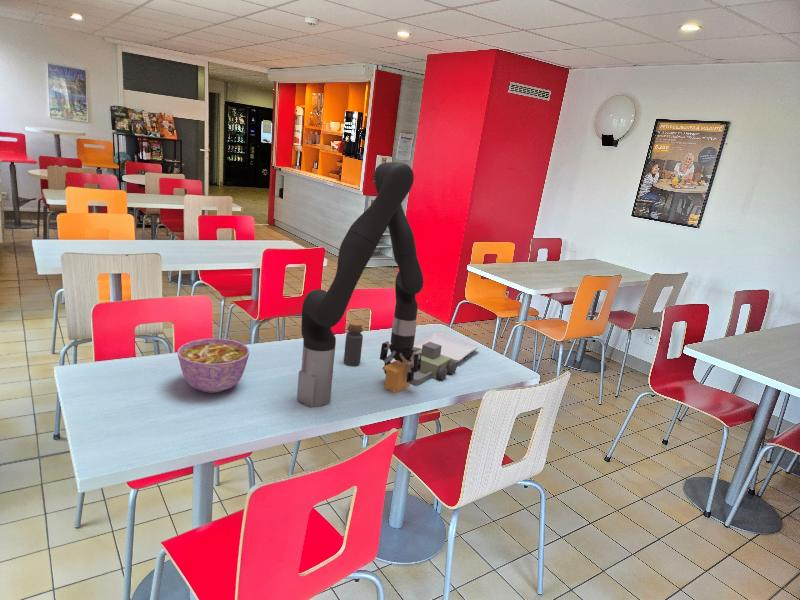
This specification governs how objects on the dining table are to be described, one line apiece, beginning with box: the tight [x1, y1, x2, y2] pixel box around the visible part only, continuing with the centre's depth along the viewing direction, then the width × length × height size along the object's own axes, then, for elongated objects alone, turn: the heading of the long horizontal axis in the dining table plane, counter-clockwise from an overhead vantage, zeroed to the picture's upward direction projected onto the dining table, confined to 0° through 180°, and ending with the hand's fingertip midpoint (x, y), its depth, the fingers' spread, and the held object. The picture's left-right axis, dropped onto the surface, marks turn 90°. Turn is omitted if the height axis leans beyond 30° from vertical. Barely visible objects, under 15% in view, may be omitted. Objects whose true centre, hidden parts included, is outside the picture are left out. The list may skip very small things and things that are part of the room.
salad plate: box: [413, 331, 480, 364], centre depth 209 cm, size 21×21×3 cm
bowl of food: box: [177, 338, 251, 394], centre depth 157 cm, size 20×20×12 cm
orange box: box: [381, 360, 410, 393], centre depth 172 cm, size 10×5×8 cm, turn 146°
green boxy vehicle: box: [407, 342, 458, 387], centre depth 186 cm, size 20×16×9 cm
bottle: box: [343, 320, 364, 367], centre depth 186 cm, size 6×6×15 cm
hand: (398, 377), depth 173 cm, fingers open, 8 cm apart
